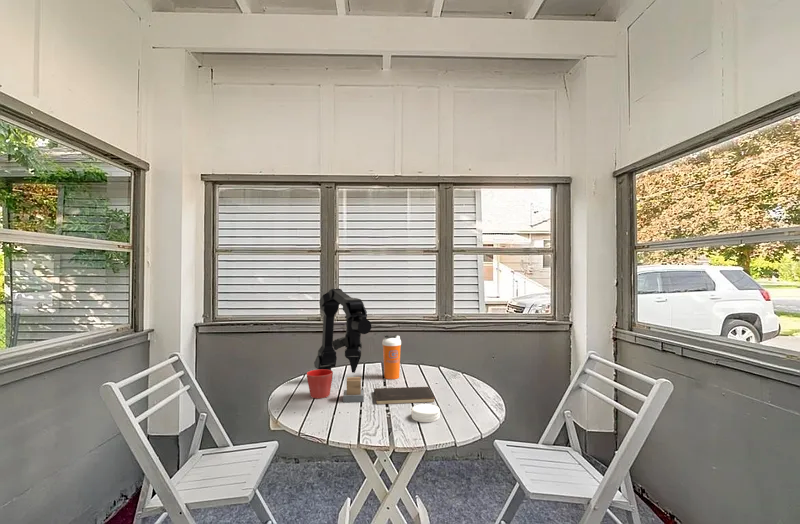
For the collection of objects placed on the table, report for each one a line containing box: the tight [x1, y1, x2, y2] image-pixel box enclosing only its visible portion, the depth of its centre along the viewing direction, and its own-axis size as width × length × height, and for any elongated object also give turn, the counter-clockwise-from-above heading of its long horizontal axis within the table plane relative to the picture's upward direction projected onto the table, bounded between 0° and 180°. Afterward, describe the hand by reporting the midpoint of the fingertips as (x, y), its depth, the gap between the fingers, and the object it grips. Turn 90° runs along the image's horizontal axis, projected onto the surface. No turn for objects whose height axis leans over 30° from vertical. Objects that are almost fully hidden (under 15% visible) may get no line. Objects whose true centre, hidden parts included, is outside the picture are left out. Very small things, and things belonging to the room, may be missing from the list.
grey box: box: [342, 389, 365, 403], centre depth 180 cm, size 8×8×2 cm
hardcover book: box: [373, 386, 436, 405], centre depth 182 cm, size 16×23×2 cm
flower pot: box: [306, 369, 334, 400], centre depth 184 cm, size 11×11×10 cm
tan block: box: [346, 376, 362, 395], centre depth 180 cm, size 6×6×6 cm
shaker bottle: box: [381, 333, 402, 380], centre depth 212 cm, size 9×9×20 cm
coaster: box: [411, 403, 441, 423], centre depth 159 cm, size 10×10×4 cm
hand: (353, 369), depth 180 cm, fingers open, 9 cm apart
